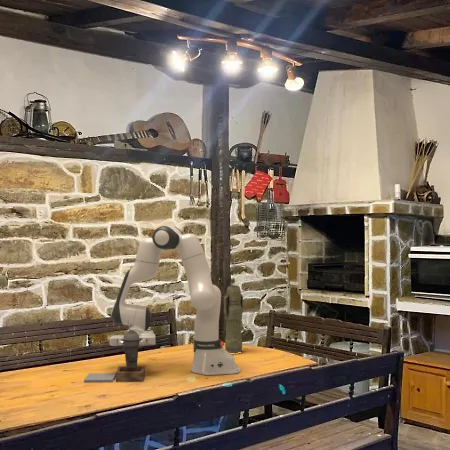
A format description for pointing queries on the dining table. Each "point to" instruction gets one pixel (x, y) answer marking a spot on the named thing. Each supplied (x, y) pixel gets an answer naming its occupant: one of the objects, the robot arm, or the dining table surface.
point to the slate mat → (100, 377)
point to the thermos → (233, 319)
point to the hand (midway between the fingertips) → (131, 343)
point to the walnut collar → (130, 374)
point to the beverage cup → (131, 347)
